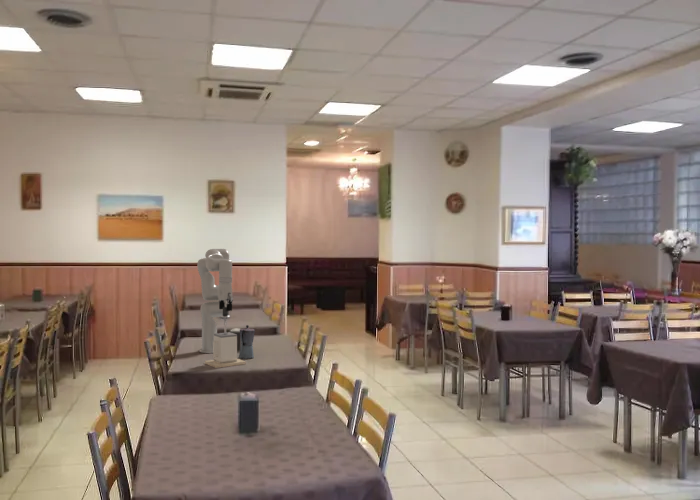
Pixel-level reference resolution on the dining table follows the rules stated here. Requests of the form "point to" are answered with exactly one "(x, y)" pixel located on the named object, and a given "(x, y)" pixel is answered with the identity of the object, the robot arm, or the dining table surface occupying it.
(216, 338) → the white box
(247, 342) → the moka pot
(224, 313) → the plunger
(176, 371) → the dining table surface
